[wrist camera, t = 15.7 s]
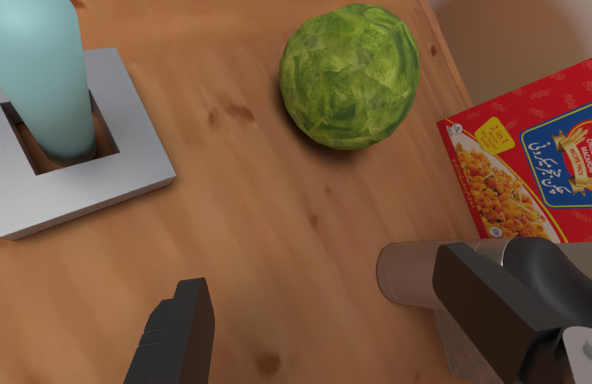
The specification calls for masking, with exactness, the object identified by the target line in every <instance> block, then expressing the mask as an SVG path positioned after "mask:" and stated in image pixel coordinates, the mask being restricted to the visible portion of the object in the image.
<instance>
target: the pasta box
mask: <svg viewBox="0 0 592 384" xmlns="http://www.w3.org/2000/svg"><path fill="white" fill-rule="evenodd" d="M436 124H437V126H438V129H439V131H440V134H441V137H442V139H443V142H444V144H445V147H446V150H447V152H448V155H449V157H450V160H451V163H452V165H453V168H454V170H455V173H456V175H457V178H458V181H459V183H460V186H461V188H462V191H463V194H464V196H465V199H466V201H467V204H468V206H469V209H470V212H471V214H472V217H473V219H474V222H475V225H476V227H477V230H478V232H479V235H480V238H481V239H492V238H513V237H515V238H516V237H543V238H546V239H548V240H550V241H552V242H553V243H575V242H578V243H579V242H592V58H590V59H588V60H586V61H583V62H581V63H578V64H576V65H574V66H571V67H569V68H567V69H564V70H562V71H559V72H557V73H554V74H552V75H550V76H547V77H545V78H542V79H540V80H538V81H535V82H533V83H530V84H528V85H526V86H523V87H521V88H518V89H516V90H514V91H511V92H509V93H506V94H504V95H502V96H499V97H497V98H494V99H492V100H490V101H487V102H485V103H482V104H480V105H478V106H475V107H473V108H470V109H468V110H465V111H463V112H461V113H458V114H456V115H453V116H451V117H449V118H446V119H444V120H441V121H439V122H437V123H436Z"/></svg>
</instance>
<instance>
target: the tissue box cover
mask: <svg viewBox="0 0 592 384" xmlns="http://www.w3.org/2000/svg"><path fill="white" fill-rule="evenodd" d="M432 311H433V315H434V318H435V322H436V325H437V329H438V333H439V336H440V340H441V343H442V347H443V350H444V354H445V357H446V361H447V364H448V368H449V372H450V375H451V376H454V377H457V378H460V379H463V380H465V381H468V382H471V383H474V384H504V383H503V381H502V380H501V379H500V377H499V376H498V375H497V374H496V372H495V371H494V370H493V368H492V367H491V366H490V365H489V363H488V362H487V361H486V359H485V358H484V357H483V356H482V354H481V353H480V352H479V350H478V349H477V348H476V346H475V345H474V344H473V343H472V341H471V340H470V339H469V337H468V336H467V335H466V334H465V332H464V331H463V330H462V328H461V327H460V326H459V325H458V323H457V322H456V321H455V319H454V318H453V317H452V315H451V314H450V313H449V312H448V311H442V310H436V309H432Z"/></svg>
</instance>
